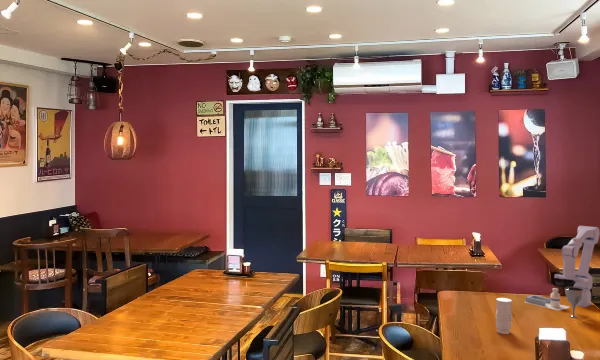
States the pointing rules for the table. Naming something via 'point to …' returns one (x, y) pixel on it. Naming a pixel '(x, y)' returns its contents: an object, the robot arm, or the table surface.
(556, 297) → the bottle
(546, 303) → the cradle
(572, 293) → the wine glass
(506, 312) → the candle
